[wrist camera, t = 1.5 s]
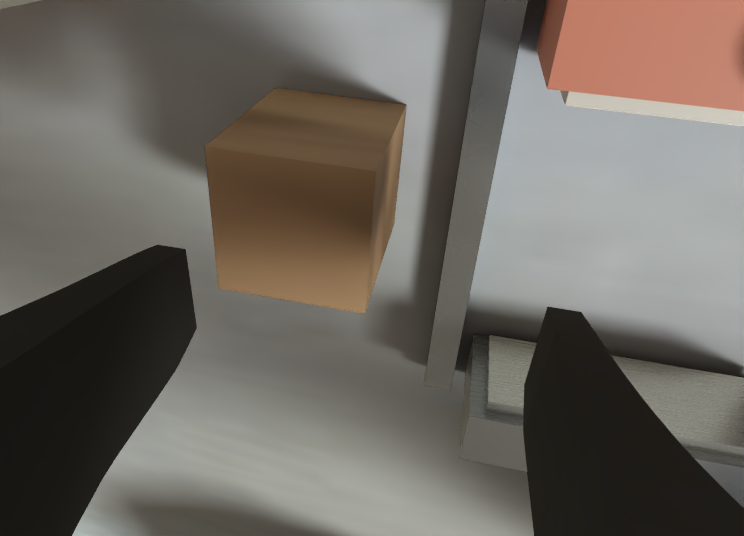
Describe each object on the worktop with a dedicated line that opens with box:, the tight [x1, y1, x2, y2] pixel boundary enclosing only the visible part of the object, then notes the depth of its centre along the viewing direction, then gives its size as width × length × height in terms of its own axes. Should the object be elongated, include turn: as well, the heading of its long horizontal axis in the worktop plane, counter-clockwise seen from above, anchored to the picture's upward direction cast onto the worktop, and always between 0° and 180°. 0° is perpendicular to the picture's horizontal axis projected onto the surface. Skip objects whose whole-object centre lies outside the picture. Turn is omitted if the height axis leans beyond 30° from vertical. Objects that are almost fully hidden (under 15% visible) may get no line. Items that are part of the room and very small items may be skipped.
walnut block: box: [205, 88, 407, 314], centre depth 16 cm, size 4×4×5 cm
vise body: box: [424, 0, 744, 508], centre depth 15 cm, size 17×13×4 cm
